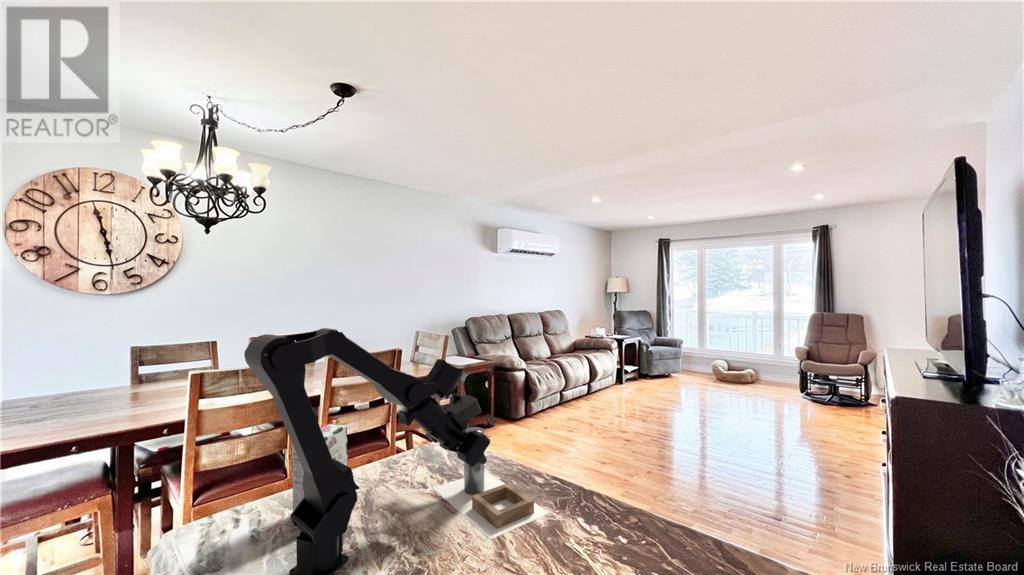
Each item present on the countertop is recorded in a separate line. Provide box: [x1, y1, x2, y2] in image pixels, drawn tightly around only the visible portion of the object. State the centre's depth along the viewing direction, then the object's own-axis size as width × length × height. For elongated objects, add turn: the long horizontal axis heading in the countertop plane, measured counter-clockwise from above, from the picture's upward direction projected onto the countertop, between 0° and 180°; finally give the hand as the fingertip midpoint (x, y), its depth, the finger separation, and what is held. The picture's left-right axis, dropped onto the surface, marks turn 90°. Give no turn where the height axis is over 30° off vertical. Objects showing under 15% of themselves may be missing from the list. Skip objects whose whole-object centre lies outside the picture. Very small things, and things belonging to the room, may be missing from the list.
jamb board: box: [432, 470, 550, 540], centre depth 86 cm, size 23×14×1 cm, turn 37°
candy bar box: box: [290, 423, 349, 530], centre depth 83 cm, size 11×5×16 cm, turn 168°
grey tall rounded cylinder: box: [463, 426, 485, 495], centre depth 90 cm, size 4×4×13 cm
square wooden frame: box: [472, 482, 535, 529], centre depth 82 cm, size 9×9×2 cm
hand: (479, 458), depth 91 cm, fingers closed on grey tall rounded cylinder, 4 cm apart
